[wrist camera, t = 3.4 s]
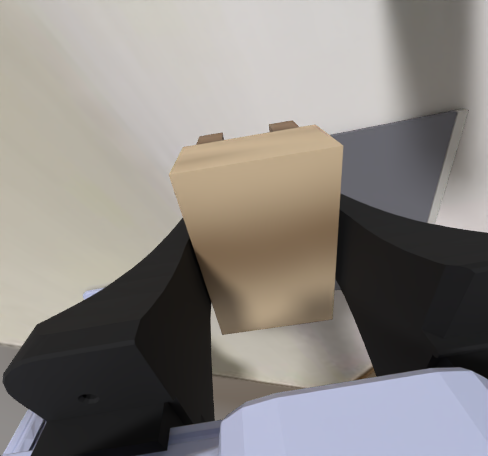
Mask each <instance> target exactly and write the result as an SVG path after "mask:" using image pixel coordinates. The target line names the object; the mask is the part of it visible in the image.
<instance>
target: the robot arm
mask: <svg viewBox="0 0 488 456" xmlns="http://www.w3.org/2000/svg"><path fill="white" fill-rule="evenodd" d="M335 279H336V281H337V283H338V285H339V286H340V288H341V290H342V292H343V294H344V296H345V298H346V301H347V303H348V305H349V308H350V310H351V312H352V315H353V317H354V319H355V322H356V324H357V327H358V329H359V332H360V334H361V337H362V339H363V342H364V344H365V347H366V349H367V352H368V355H369V357H370V360H371V363H372V365H373V368H374V371H375V373H376V376H377V377H373V378H366V379H360V380H354V381H348V382H341V383H335V384H329V385H323V386H317V387H310V388H304V389H298V390H292V391H286V392H279V393H275V394H271V395H268V396H264V397H261V398H258V399H254V400H250V401H247V402H245V403H243V404H242V405H241V406H239V407H238V408H236V409H235V410H234V411H232V412H231V413H229V414H228V415H227V416H226V417H225V418H224V420H217V421H215V419H214V403H213V386H212V385H213V384H212V362H211V324H210V317H211V299H210V296H209V293H208V290H207V287H206V284H205V281H204V278H203V275H202V272H201V269H200V266H199V263H198V260H197V257H196V254H195V251H194V248H193V245H192V242H191V239H190V236H189V233H188V230H187V227H186V224H185V222H184V219H183V218H182V219H181V221H180V222H179V223H178V224H177V225H176V227H175V228H174V229H173V230H172V231H171V232H170V233H169V235H168V236H167V237H166V238H165V239H164V240H163V241H162V242H161V243H160V244H159V245H158V246H157V247H156V248H155V249H154V250H153V251H152V252H151V253H150V254H149V255H148V256H147V257H145V258H144V259H143V260H142V261H141V262H139V263H138V264H137V265H136V266H135V267H133V268H132V269H131V270H129V271H128V272H127V273H125V274H124V275H122V276H121V277H120V278H118V279H117V280H115V281H114V282H113V283H111V284H110V285H108V286H107V287H105V288H100V289H95V290H89V291H86V292H85V293H84V294H83V298H84V299H85V300H83V301H82V302H80V303H78V304H76V305H74V306H73V307H71V308H69V309H67V310H65V311H63V312H61V313H59V314H57V315H55V316H53V317H51V318H49V319H47V320H45V321H43V322H41V323H39V324H37V325H36V327H35V328H34V330H33V331H32V333H31V334H30V335H29V337H28V338H27V340H26V341H25V343H24V344H23V346H22V347H21V349H20V350H19V352H18V353H17V355H16V356H15V358H14V359H13V360H12V362H11V363H10V365H9V366H8V368H7V369H6V371H5V372H4V374H3V384H4V386H5V388H6V390H7V392H8V394H10V395H11V396H12V397H13V398H14V399H15V400H17V401H18V402H19V403H21V404H22V405H24V406H25V407H26V408H28V410H27V412H26V414H25V416H24V417H23V419H22V421H21V423H20V424H19V426H18V428H17V430H16V432H15V433H14V435H13V437H12V439H11V441H10V442H9V444H8V446H7V448H6V450H5V451H4V453H3V455H0V456H488V233H485V232H477V231H470V230H463V229H457V228H451V227H445V226H440V225H435V224H430V223H425V222H421V221H417V220H413V219H409V218H406V217H402V216H398V215H395V214H392V213H389V212H386V211H383V210H380V209H377V208H375V207H372V206H369V205H367V204H364V203H362V202H359V201H357V200H355V199H352V198H350V197H348V196H345V195H343V194H341V193H340V208H339V224H338V240H337V256H336V272H335Z"/></svg>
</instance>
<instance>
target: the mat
mask: <svg viewBox="0 0 488 456" xmlns="http://www.w3.org/2000/svg"><path fill="white" fill-rule="evenodd" d="M468 111H469V110H467V109H459V110H454V111H449V112H444V113H439V114H434V115H429V116H424V117H419V118H414V119H409V120H404V121H399V122H393V123H388V124H383V125H378V126H373V127H368V128H363V129H358V130H353V131H348V132H343V133H338V134H333V135H330V136H331V137H333V138H334V139H335V140H337V141H338V142H339V143H341V144H342V145H343V159H342V176H341V192H340V193H341V194H343V195H345V196H348V197H350V198H352V199H355V200H357V201H359V202H362V203H364V204H367V205H369V206H372V207H375V208H377V209H380V210H383V211H386V212H389V213H392V214H395V215H398V216H402V217H406V218H409V219H413V220H417V221H421V222H425V223H430V224H435V222H436V219H437V215H438V212H439V209H440V205H441V202H442V199H443V195H444V192H445V189H446V185H447V182H448V178H449V175H450V172H451V168H452V165H453V162H454V158H455V155H456V151H457V148H458V145H459V141H460V138H461V135H462V131H463V128H464V125H465V121H466V118H467V114H468ZM340 289H341V288H340V286H339V285H338V283H337V281H336V279H335V288H334V290H340Z"/></svg>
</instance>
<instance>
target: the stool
mask: <svg viewBox="0 0 488 456" xmlns="http://www.w3.org/2000/svg"><path fill="white" fill-rule="evenodd" d="M269 130H270V132H269V133H263V134H257V135H251V136H246V137H240V138H234V139H228V140H224V138H223V133H217V134H211V135H205V136H200V137H199V139H198V142H197V144H196V145H193V146H187V147H183V148H182V150H181V152H180V154H179V156H178V158H177V160H176V162H175V164H174V166H173V168H172V170H171V172H170V174H169V177H170V180H171V183H172V186H173V189H174V192H175V195H176V198H177V201H178V204H179V207H180V210H181V213H182V216H183V219H184V222H185V224H186V227H187V230H188V233H189V236H190V239H191V242H192V245H193V248H194V251H195V254H196V257H197V260H198V263H199V266H200V269H201V272H202V275H203V278H204V281H205V284H206V287H207V290H208V293H209V296H210V299H211V302H212V305H213V308H214V311H215V314H216V317H217V320H218V323H219V326H220V329H221V332H222V335H225V334H232V333H239V332H246V331H253V330H260V329H268V328H275V327H282V326H289V325H296V324H304V323H311V322H318V321H325V320H332V319H333V304H334V288H335V272H336V256H337V240H338V224H339V208H340V192H341V176H342V159H343V145H342V144H341V143H339V142H338V141H337V140H335V139H334V138H333V137H331V136H330V135H329V134H327V133H326V132H325V131H323V130H322V129H320V128H319V127H318V126H316V125H310V126H304V127H299V126H298V125H297V124H296V123H295V122H294V121H293V120H292V121H286V122H281V123H275V124H269Z"/></svg>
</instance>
